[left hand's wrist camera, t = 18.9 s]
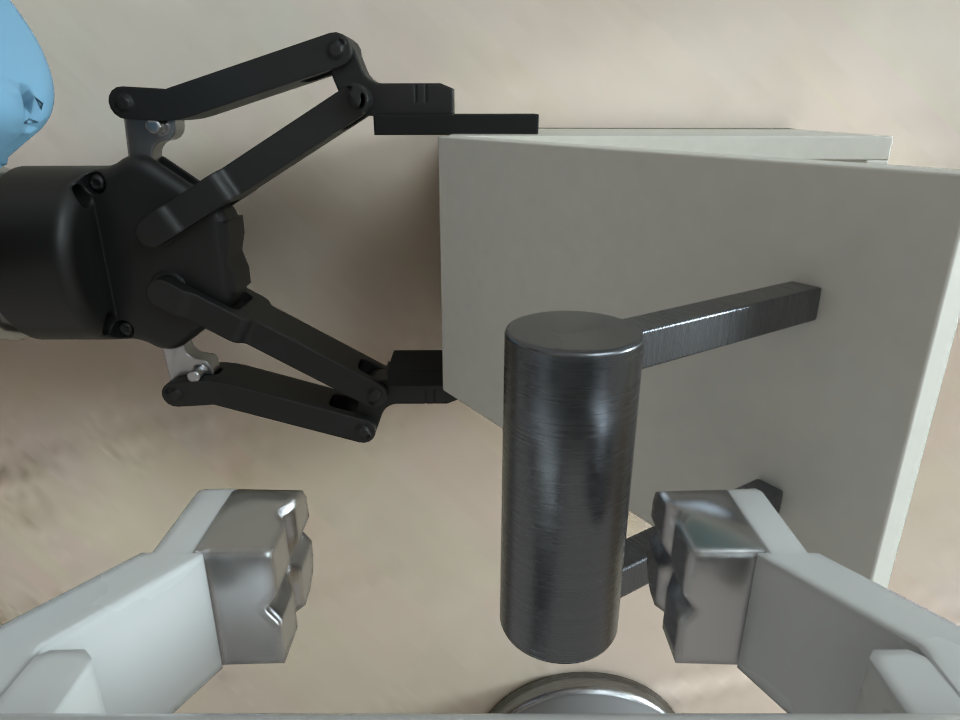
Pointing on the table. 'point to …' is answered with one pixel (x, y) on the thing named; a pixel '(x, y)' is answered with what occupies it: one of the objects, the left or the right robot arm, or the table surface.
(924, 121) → the table surface
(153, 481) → the table surface
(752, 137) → the chest
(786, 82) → the table surface
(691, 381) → the lid
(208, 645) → the left robot arm
